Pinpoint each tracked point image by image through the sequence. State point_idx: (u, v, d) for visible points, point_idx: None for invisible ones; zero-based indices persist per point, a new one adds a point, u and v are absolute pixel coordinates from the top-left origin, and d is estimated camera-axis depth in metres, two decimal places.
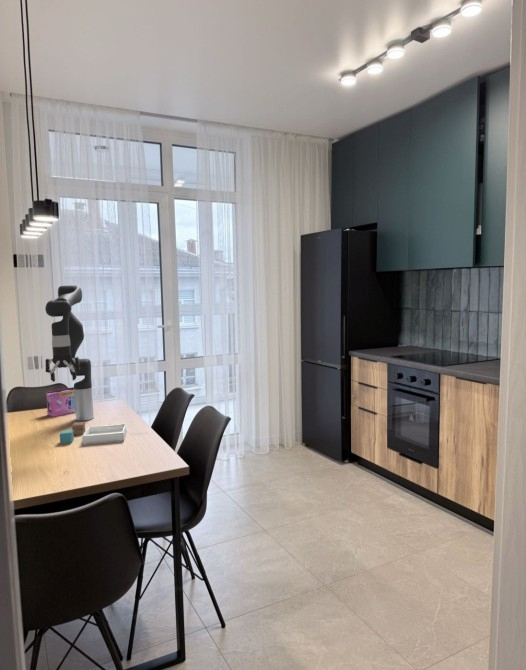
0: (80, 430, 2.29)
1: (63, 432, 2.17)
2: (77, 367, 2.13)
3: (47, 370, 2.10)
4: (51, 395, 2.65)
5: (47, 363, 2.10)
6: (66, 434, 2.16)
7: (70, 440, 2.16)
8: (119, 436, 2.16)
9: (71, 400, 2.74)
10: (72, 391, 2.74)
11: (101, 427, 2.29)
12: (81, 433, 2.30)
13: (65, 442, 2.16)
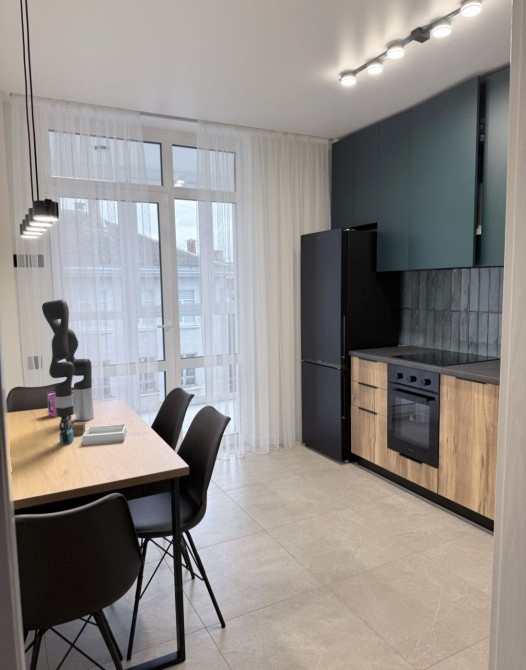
0: (80, 430, 2.29)
1: None
2: None
3: (66, 432, 2.14)
4: (53, 395, 2.65)
5: (65, 426, 2.12)
6: None
7: (70, 440, 2.16)
8: (119, 436, 2.16)
9: None
10: (73, 391, 2.74)
11: (101, 427, 2.29)
12: (81, 433, 2.30)
13: None
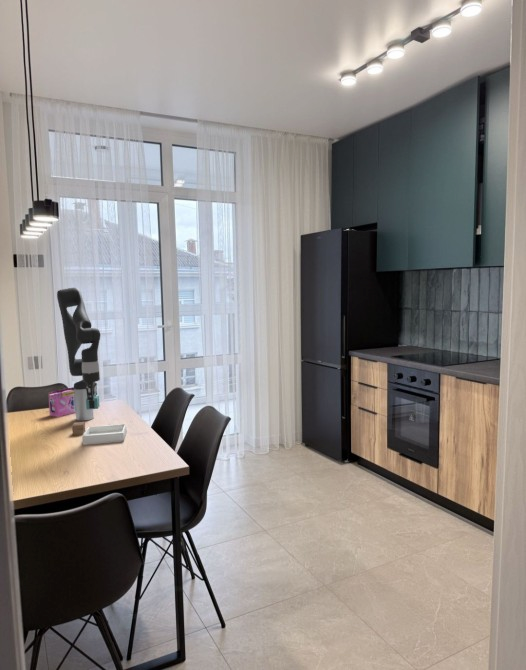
0: (80, 430, 2.29)
1: None
2: (96, 392, 2.25)
3: (93, 397, 2.15)
4: (55, 395, 2.64)
5: (92, 391, 2.14)
6: None
7: (96, 405, 2.18)
8: (119, 436, 2.16)
9: (74, 400, 2.74)
10: None
11: (101, 427, 2.29)
12: (81, 433, 2.30)
13: None
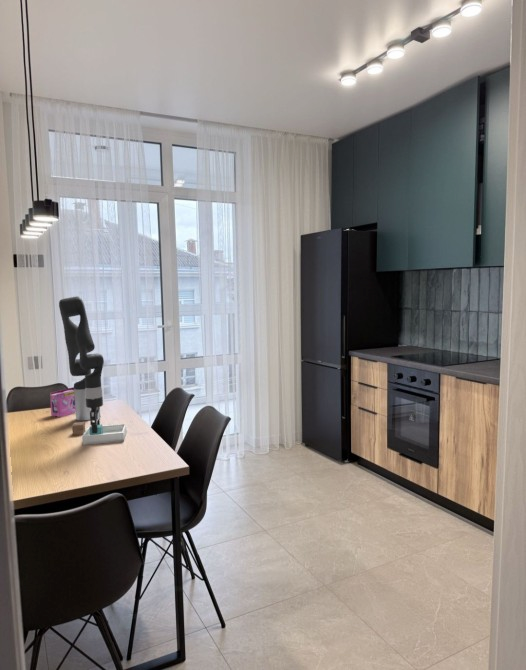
0: (80, 430, 2.29)
1: None
2: None
3: (96, 422, 2.15)
4: (58, 395, 2.64)
5: (95, 415, 2.15)
6: None
7: None
8: (119, 436, 2.16)
9: None
10: None
11: None
12: (81, 433, 2.30)
13: None
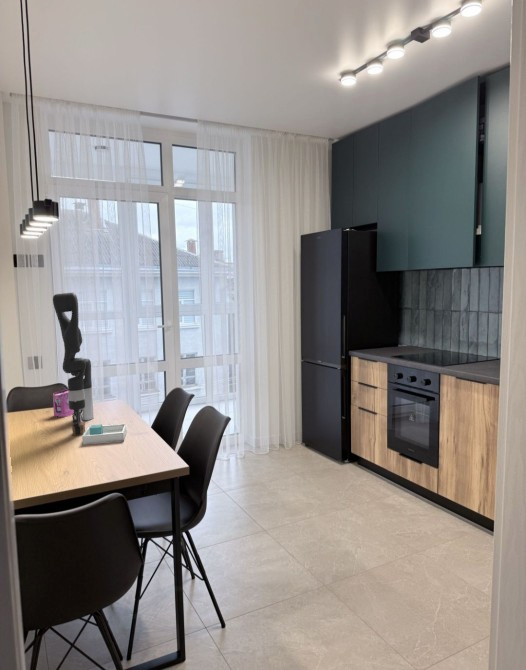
0: (80, 430, 2.29)
1: (93, 427, 2.21)
2: (82, 418, 2.36)
3: (79, 424, 2.27)
4: (62, 395, 2.64)
5: (78, 418, 2.26)
6: (96, 428, 2.19)
7: None
8: (119, 436, 2.16)
9: None
10: None
11: None
12: (81, 433, 2.30)
13: None
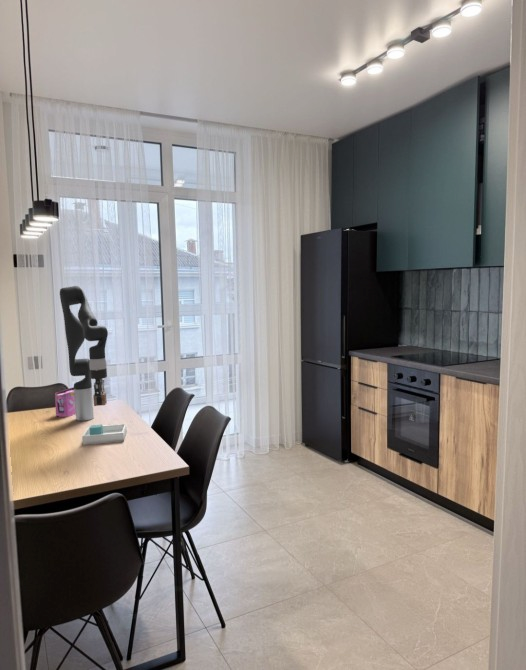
0: None
1: (93, 427, 2.21)
2: (103, 389, 2.28)
3: (100, 394, 2.19)
4: (65, 395, 2.64)
5: (99, 387, 2.18)
6: (96, 428, 2.19)
7: None
8: (119, 436, 2.16)
9: None
10: None
11: None
12: (102, 403, 2.21)
13: None
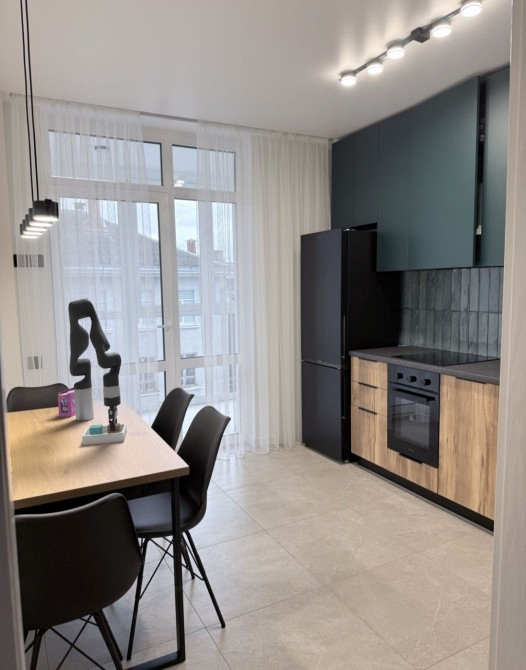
0: (115, 432, 2.21)
1: (93, 427, 2.21)
2: None
3: (114, 421, 2.17)
4: (69, 395, 2.64)
5: (114, 414, 2.17)
6: (96, 428, 2.19)
7: None
8: (119, 436, 2.16)
9: None
10: None
11: None
12: None
13: None
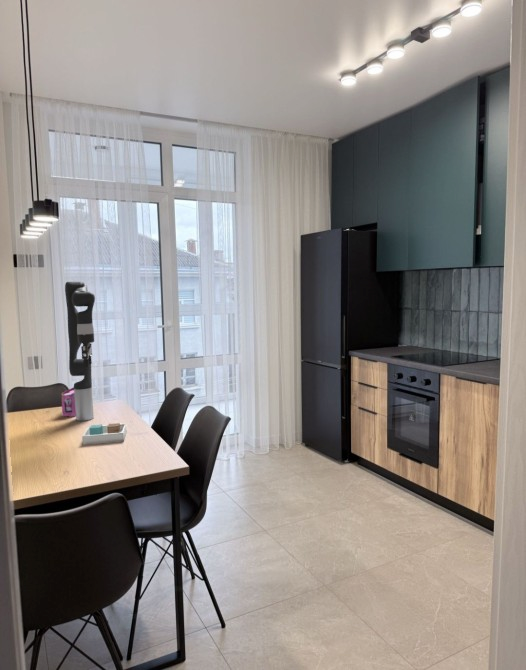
0: (115, 432, 2.21)
1: (93, 427, 2.21)
2: None
3: (87, 356, 2.25)
4: (73, 395, 2.65)
5: (87, 350, 2.25)
6: (96, 428, 2.19)
7: None
8: (119, 436, 2.16)
9: None
10: None
11: None
12: None
13: None
